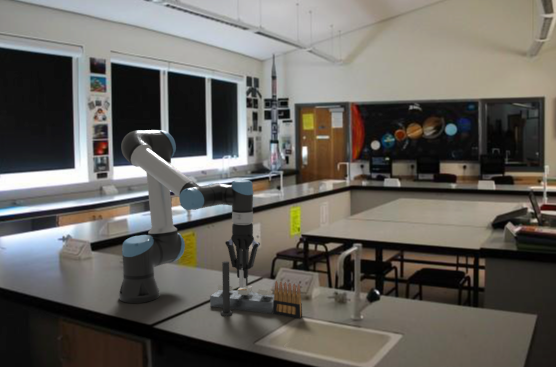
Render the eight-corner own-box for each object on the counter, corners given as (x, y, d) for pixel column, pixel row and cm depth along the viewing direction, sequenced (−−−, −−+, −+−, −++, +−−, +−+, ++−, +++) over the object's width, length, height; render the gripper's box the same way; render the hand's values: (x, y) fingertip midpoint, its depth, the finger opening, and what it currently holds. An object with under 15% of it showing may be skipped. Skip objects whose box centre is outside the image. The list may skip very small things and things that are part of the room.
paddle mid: (237, 294, 197) (237, 289, 197) (243, 290, 202) (243, 285, 202) (246, 295, 196) (246, 290, 196) (252, 290, 201) (252, 286, 201)
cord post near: (218, 315, 190) (218, 263, 188) (223, 311, 194) (222, 260, 192) (229, 316, 189) (228, 264, 187) (233, 312, 192) (233, 261, 190)
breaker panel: (210, 306, 199) (210, 295, 199) (220, 299, 208) (220, 288, 207) (271, 313, 191) (271, 302, 191) (279, 305, 200) (279, 295, 199)
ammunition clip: (302, 317, 188) (302, 283, 187) (300, 318, 186) (300, 285, 185) (275, 312, 193) (275, 279, 192) (272, 313, 191) (272, 280, 190)
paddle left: (217, 290, 200) (218, 285, 200) (223, 290, 204) (223, 285, 205) (226, 290, 198) (227, 286, 199) (231, 291, 203) (232, 286, 203)
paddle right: (258, 294, 194) (258, 289, 195) (262, 294, 199) (263, 289, 199) (267, 295, 193) (267, 290, 194) (271, 295, 198) (272, 290, 198)
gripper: (221, 223, 193) (222, 287, 196) (255, 226, 189) (255, 291, 192) (230, 220, 200) (230, 281, 203) (263, 222, 196) (262, 285, 199)
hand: (242, 286), depth 197 cm, fingers closed
